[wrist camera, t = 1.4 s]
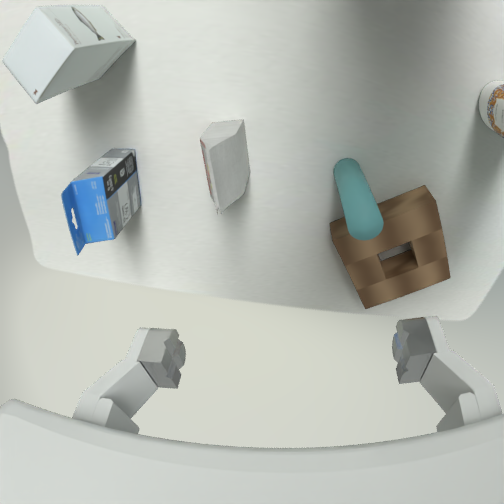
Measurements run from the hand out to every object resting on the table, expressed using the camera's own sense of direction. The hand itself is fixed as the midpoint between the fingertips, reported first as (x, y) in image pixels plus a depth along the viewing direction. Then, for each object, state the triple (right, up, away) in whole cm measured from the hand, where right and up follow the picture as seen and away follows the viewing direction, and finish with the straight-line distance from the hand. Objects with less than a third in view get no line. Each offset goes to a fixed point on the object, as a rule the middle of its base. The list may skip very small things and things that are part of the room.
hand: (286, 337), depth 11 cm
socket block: (+19, +4, +32) cm, 37 cm away
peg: (+10, +13, +26) cm, 31 cm away
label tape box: (-18, +13, +30) cm, 38 cm away
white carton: (-4, +16, +26) cm, 31 cm away
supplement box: (-19, +28, +18) cm, 39 cm away
